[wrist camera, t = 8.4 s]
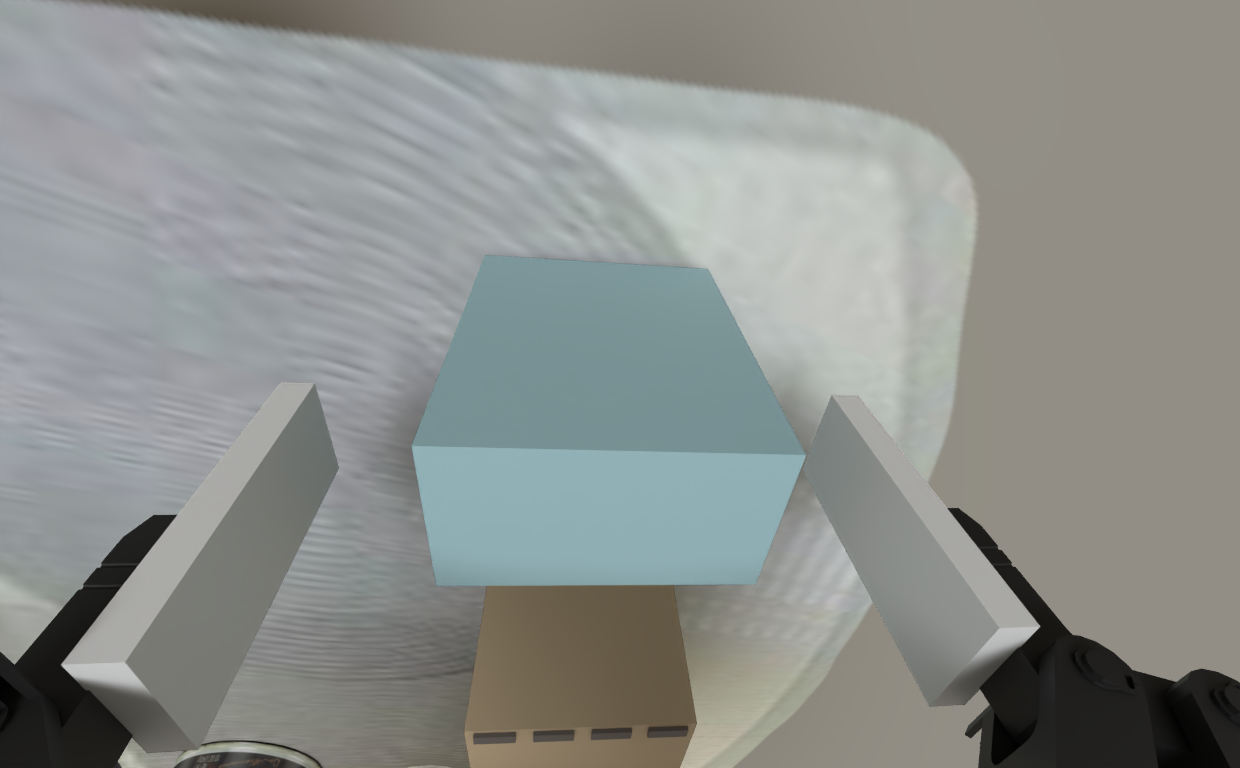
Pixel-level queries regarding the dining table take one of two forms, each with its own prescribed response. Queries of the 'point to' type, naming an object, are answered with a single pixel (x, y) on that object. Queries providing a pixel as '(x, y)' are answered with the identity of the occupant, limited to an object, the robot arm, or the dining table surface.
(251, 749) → the coffee can
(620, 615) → the slotted tan box
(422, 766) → the pendant
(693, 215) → the dining table surface
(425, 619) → the dining table surface
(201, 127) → the dining table surface
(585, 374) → the light blue box
